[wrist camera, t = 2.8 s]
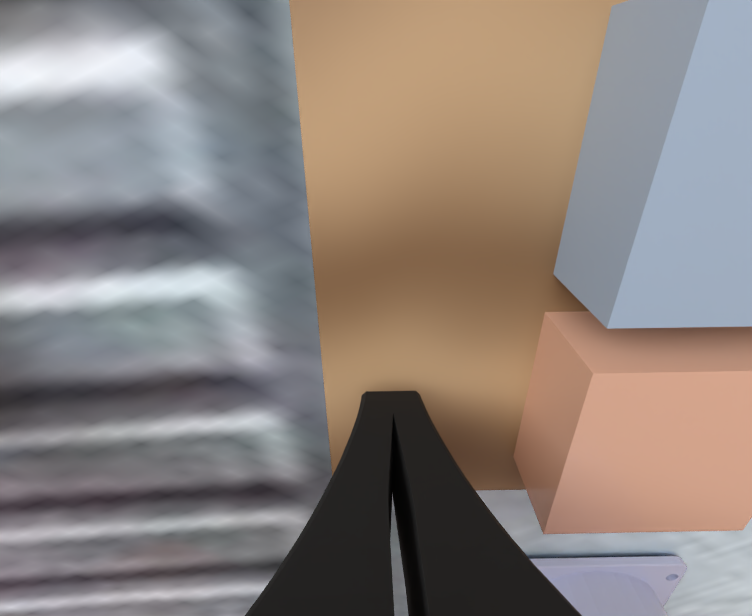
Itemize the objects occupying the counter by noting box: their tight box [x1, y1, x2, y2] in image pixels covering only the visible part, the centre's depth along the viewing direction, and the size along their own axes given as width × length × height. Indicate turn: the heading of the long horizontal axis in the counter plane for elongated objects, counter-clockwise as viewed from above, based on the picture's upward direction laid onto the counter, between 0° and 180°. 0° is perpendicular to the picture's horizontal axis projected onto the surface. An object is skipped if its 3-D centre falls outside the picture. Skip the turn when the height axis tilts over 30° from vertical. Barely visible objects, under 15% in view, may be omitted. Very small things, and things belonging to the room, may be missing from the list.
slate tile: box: [553, 0, 752, 329], centre depth 7 cm, size 5×5×2 cm
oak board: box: [289, 0, 628, 490], centre depth 10 cm, size 14×14×2 cm
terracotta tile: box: [513, 311, 752, 534], centre depth 10 cm, size 5×5×2 cm
